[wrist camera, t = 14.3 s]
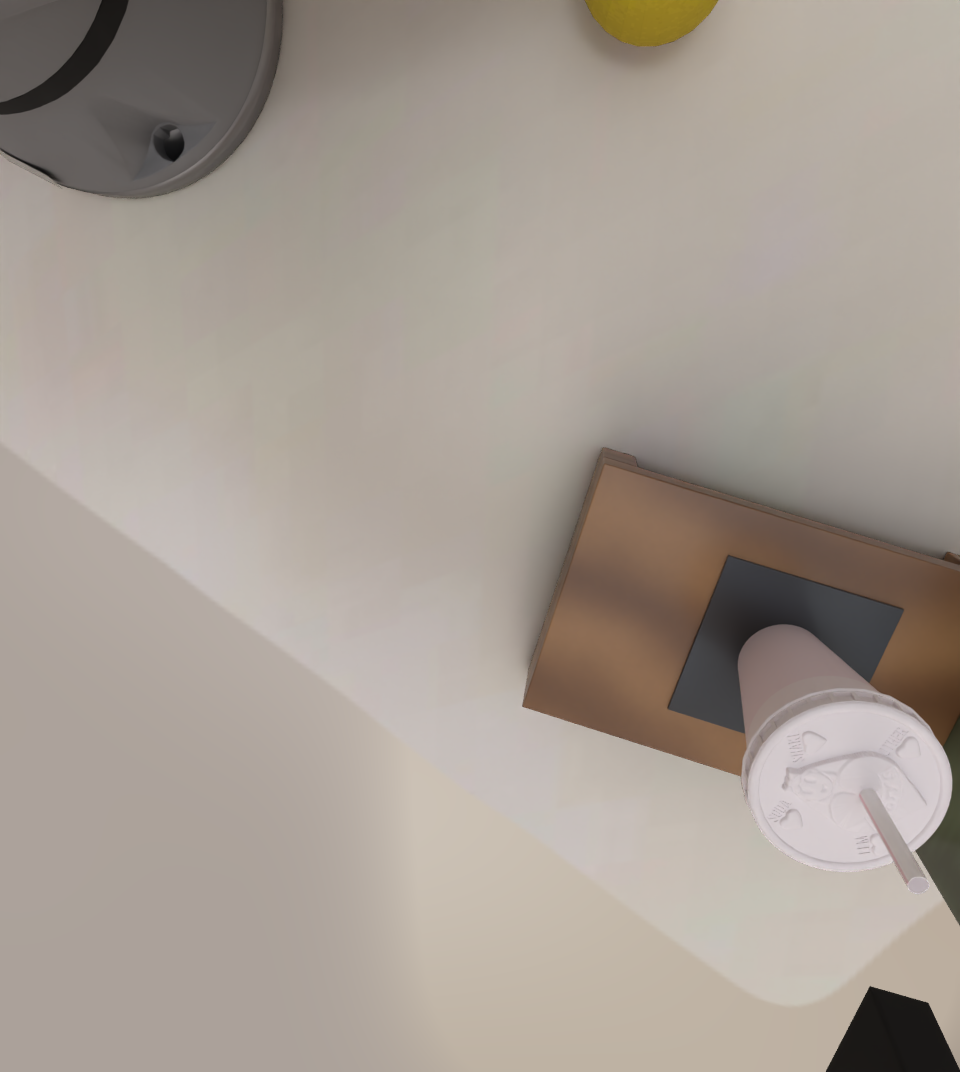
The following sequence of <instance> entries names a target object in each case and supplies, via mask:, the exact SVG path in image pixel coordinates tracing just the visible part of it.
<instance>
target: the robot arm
mask: <svg viewBox="0 0 960 1072" xmlns="http://www.w3.org/2000/svg"><path fill="white" fill-rule="evenodd" d="M282 20H283V14H282V0H0V150H1V151H2V152H1V151H0V154H1V155H2V156H4V157H5V158H6V159H7V160H9V161H10V162H12V163H14V164H16V165H18V166H20V167H22V168H24V169H26V170H28V171H29V172H31V173H33V174H35V175H37V176H39V177H41V178H43V179H45V180H47V181H49V182H50V183H52V184H54V185H56V186H58V187H60V186H59V185H62V186H65V187H68V188H72V189H76V190H80V191H84V192H89V193H93V194H98V195H103V196H109V197H117V198H144V197H153V196H158V195H162V194H167V193H170V192H173V191H176V190H179V189H181V188H184V187H186V186H188V185H190V184H192V183H194V182H196V181H198V180H199V179H201V178H203V177H204V176H206V175H207V174H209V173H210V172H211V171H213V170H214V169H215V168H217V167H218V166H219V165H221V164H222V163H223V162H224V161H225V160H226V159H227V158H228V157H229V156H230V155H231V154H232V153H233V152H234V151H235V150H236V148H237V147H238V146H239V145H240V144H241V142H242V141H243V140H244V139H245V137H246V136H247V134H248V133H249V131H250V130H251V128H252V127H253V125H254V123H255V122H256V120H257V118H258V116H259V114H260V112H261V111H262V108H263V106H264V104H265V101H266V99H267V97H268V94H269V92H270V88H271V85H272V82H273V79H274V76H275V72H276V68H277V63H278V59H279V53H280V45H281V38H282ZM3 152H4V153H3ZM58 184H59V185H58ZM60 188H61V187H60ZM826 1072H960V1069H959V1067H958V1065H957V1063H956V1061H955V1059H954V1057H953V1055H952V1052H951V1050H950V1048H949V1046H948V1044H947V1042H946V1040H945V1038H944V1035H943V1033H942V1031H941V1029H940V1027H939V1025H938V1023H937V1021H936V1018H935V1016H934V1014H933V1012H932V1010H931V1008H930V1006H929V1004H928V1003H927V1002H923V1001H920V1000H916V999H912V998H909V997H906V996H902V995H899V994H895V993H892V992H888V991H885V990H881V989H878V988H874V987H871V986H870V987H869V989H868V991H867V993H866V995H865V997H864V999H863V1001H862V1003H861V1005H860V1007H859V1008H858V1010H857V1012H856V1015H855V1016H854V1018H853V1020H852V1022H851V1024H850V1026H849V1028H848V1030H847V1032H846V1034H845V1036H844V1038H843V1039H842V1041H841V1043H840V1045H839V1047H838V1049H837V1051H836V1053H835V1055H834V1057H833V1059H832V1061H831V1062H830V1065H829V1066H828V1068H827V1070H826Z"/></svg>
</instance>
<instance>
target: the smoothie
mask: <svg viewBox="0 0 960 1072" xmlns="http://www.w3.org/2000/svg"><path fill="white" fill-rule="evenodd" d="M738 674H739V682H740V691H741V700H742V709H743V718H744V726H745V735H746V744H747V749H746V752H745V754H744V757H743V761H742V774H741V784H742V788H743V792H744V797H745V801H746V804H747V805H748V807H749V809H750V810H751V812H752V815H753V817H754V820H755V822H756V824H757V826H758V827H759V829H760V830H761V832H762V833H763V835H764V836H765V837H766V838H767V839H768V841H769V842H770V843H771V844H773V845H774V846H775V847H776V848H777V849H778V850H780V851H781V852H782V853H784V854H785V855H787V856H788V857H790V858H792V859H794V860H796V861H798V862H800V863H802V864H805V865H807V866H811V867H814V868H818V869H822V870H828V871H836V872H857V871H865V870H870V869H875V868H879V867H883V866H885V865H888V864H891V863H893V862H894V864H895V865H896V867H897V869H898V871H899V873H900V875H901V876H902V878H903V880H904V882H905V884H906V886H907V888H908V889H909V891H910V892H912V893H914V894H921V893H924V892H926V891H927V890H928V888H929V882H928V880H927V879H926V877H925V875H924V874H923V872H922V870H921V868H920V867H919V865H918V863H917V862H916V860H915V858H914V856H913V855H912V852H913V851H915V850H916V849H918V848H919V847H920V846H921V845H922V844H924V843H925V842H926V841H927V840H928V839H929V838H930V837H931V836H932V834H933V833H934V832H935V831H936V830H937V828H938V827H939V825H940V824H941V822H942V820H943V818H944V816H945V814H946V812H947V809H948V807H949V803H950V799H951V793H952V773H951V768H950V764H949V761H948V758H947V755H946V753H945V751H944V749H943V747H942V746H941V744H940V743H939V741H938V740H937V738H936V737H935V736H934V734H933V732H932V730H931V728H930V726H929V725H928V724H927V723H926V722H925V721H924V720H923V719H922V718H921V717H920V716H919V715H918V714H917V713H916V712H915V711H914V710H913V709H912V708H910V707H909V706H907V705H905V704H903V703H902V702H900V701H898V700H896V699H895V698H893V697H891V696H889V695H885V694H882V693H880V692H878V691H877V690H876V689H875V688H874V687H873V686H871V685H870V684H869V683H868V682H867V681H866V680H865V679H863V678H862V677H861V676H860V675H859V674H858V673H857V672H855V671H854V670H853V669H852V668H851V667H850V666H849V665H847V664H846V663H845V662H844V661H843V660H842V659H841V658H839V657H838V656H837V655H836V654H835V653H834V652H833V651H831V650H830V649H829V648H828V647H827V646H826V645H824V644H823V643H822V642H821V641H820V640H819V639H818V638H816V637H815V636H814V635H813V634H812V633H810V632H809V631H807V630H805V629H803V628H801V627H798V626H794V625H788V624H780V625H773V626H769V627H766V628H764V629H762V630H760V631H758V632H756V633H755V634H754V635H752V636H751V637H750V638H749V639H748V640H747V641H746V643H745V644H744V646H743V647H742V649H741V651H740V654H739V658H738Z"/></svg>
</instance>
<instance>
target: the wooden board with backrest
mask: <svg viewBox="0 0 960 1072" xmlns="http://www.w3.org/2000/svg"><path fill="white" fill-rule="evenodd" d="M780 624H788V625H794V626H798V627H801V628H803V629H805V630H807V631H809V632H810V633H812V634H813V635H814V636H815V637H816V638H818V639H819V640H820V641H821V642H822V643H823V644H824V645H826V646H827V647H828V648H829V649H830V650H831V651H833V652H834V653H835V654H836V655H837V656H838V657H839V658H841V659H842V660H843V661H844V662H845V663H846V664H847V665H849V666H850V667H851V668H852V669H853V670H854V671H855V672H857V673H858V674H859V675H860V676H861V677H862V678H863V679H865V680H866V681H867V682H868V683H869V684H870V685H871V686H873V687H874V688H875V689H876V690H877V691H878V692H880V693H882V694H885V695H889V696H891V697H893V698H895V699H896V700H898V701H900V702H902V703H903V704H905V705H907V706H909V707H910V708H912V709H913V710H914V711H915V712H916V713H917V714H918V715H919V716H920V717H921V718H922V719H923V720H924V721H925V722H926V723H927V724H928V725H929V726H930V728H931V730H932V732H933V734H934V736H935V737H936V738H937V740H938V741H939V743H940V744H941V746H942V747H943V749H944V751H945V753H946V755H947V758H948V761H949V764H950V768H951V773H952V793H951V799H950V803H949V807H948V809H947V812H946V814H945V816H944V818H943V820H942V822H941V824H940V825H939V827H938V828H937V830H936V831H935V832H934V833H933V834H932V836H931V837H930V838H929V839H928V840H927V841H926V842H925V843H924V844H922V845H921V846H920V847H919V848H918V849H916V850H915V851H916V853H917V854H918V856H919V858H920V859H921V861H922V863H923V864H924V866H925V868H926V869H927V871H928V873H929V874H930V876H931V878H932V880H933V881H934V883H935V885H936V886H937V888H938V890H939V891H940V893H941V895H942V896H943V898H944V900H945V902H946V903H947V905H948V907H949V908H950V910H951V912H952V913H953V915H954V917H955V918H956V920H957V922H958V923H959V925H960V555H956V554H953V553H950V552H947V554H946V556H945V558H944V560H941V559H937V558H934V557H931V556H928V555H924V554H921V553H918V552H914V551H911V550H908V549H905V548H901V547H898V546H895V545H891V544H888V543H885V542H882V541H878V540H875V539H872V538H869V537H865V536H862V535H859V534H855V533H852V532H849V531H846V530H842V529H839V528H836V527H832V526H829V525H826V524H823V523H819V522H816V521H813V520H809V519H806V518H803V517H800V516H796V515H793V514H790V513H786V512H783V511H780V510H777V509H773V508H770V507H767V506H763V505H760V504H757V503H754V502H750V501H747V500H744V499H740V498H737V497H734V496H731V495H727V494H724V493H721V492H717V491H714V490H711V489H708V488H704V487H701V486H698V485H694V484H691V483H688V482H685V481H681V480H678V479H675V478H672V477H668V476H665V475H662V474H658V473H655V472H652V471H649V470H645V469H642V468H639V467H638V466H637V462H636V459H635V457H634V456H631V455H627V454H624V453H621V452H618V451H614V450H611V449H608V448H604V447H603V448H602V450H601V453H600V456H599V459H598V462H597V465H596V468H595V471H594V474H593V477H592V480H591V483H590V486H589V489H588V492H587V495H586V498H585V501H584V504H583V507H582V510H581V513H580V516H579V519H578V522H577V525H576V528H575V531H574V534H573V537H572V540H571V543H570V546H569V549H568V552H567V555H566V558H565V561H564V564H563V567H562V570H561V573H560V576H559V579H558V582H557V585H556V588H555V591H554V594H553V597H552V600H551V603H550V606H549V609H548V612H547V615H546V618H545V621H544V624H543V627H542V630H541V633H540V636H539V639H538V642H537V645H536V648H535V651H534V654H533V657H532V660H531V663H530V666H529V669H528V675H527V681H526V687H525V693H524V699H523V707H525V708H528V709H532V710H535V711H538V712H541V713H544V714H547V715H550V716H553V717H557V718H560V719H563V720H566V721H569V722H572V723H575V724H579V725H582V726H585V727H588V728H591V729H594V730H597V731H600V732H604V733H607V734H610V735H613V736H616V737H619V738H622V739H626V740H629V741H632V742H635V743H638V744H641V745H644V746H647V747H651V748H654V749H657V750H660V751H663V752H666V753H669V754H673V755H676V756H679V757H682V758H685V759H688V760H691V761H694V762H698V763H701V764H704V765H707V766H710V767H713V768H716V769H720V770H723V771H726V772H729V773H732V774H735V775H738V776H741V774H742V761H743V757H744V754H745V752H746V749H747V744H746V735H745V726H744V718H743V709H742V700H741V691H740V682H739V674H738V658H739V654H740V651H741V649H742V647H743V646H744V644H745V643H746V641H747V640H748V639H749V638H750V637H751V636H752V635H754V634H755V633H756V632H758V631H760V630H762V629H764V628H766V627H769V626H773V625H780Z"/></svg>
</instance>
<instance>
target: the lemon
mask: <svg viewBox="0 0 960 1072" xmlns="http://www.w3.org/2000/svg"><path fill="white" fill-rule="evenodd" d="M585 2H586V4H587V6H588V8H589V10H590V12H591V14H592V16H593V17H594V19H595V20H596V21H597V22H598V23H599V24H600V25H601V26H602V28H603V29H604V30H605V31H606V32H607V33H609V34H610V35H612V36H614V37H615V38H617V39H618V40H620V41H621V42H625V43H628V44H632V45H635V46H659V45H662V44H666V43H670V42H673V41H675V40H677V39H679V38H681V37H682V36H684V35H686V34H687V33H689V32H691V31H692V30H694V29H695V28H696V27H697V26H698V25H699V24H700V23H701V22H702V21H703V20H704V19H705V18H706V17H707V16H708V15H709V14H710V12H711V11H712V9H713V8H714V6H715V5H716V3H717V2H718V0H585Z"/></svg>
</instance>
